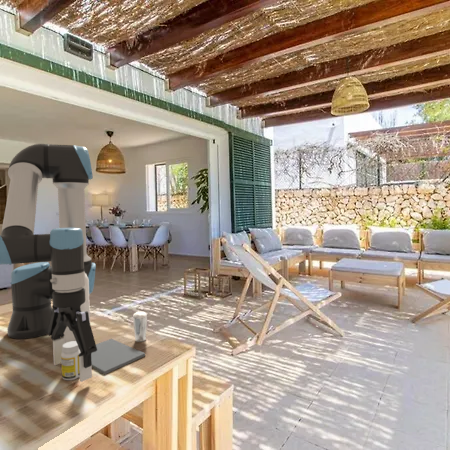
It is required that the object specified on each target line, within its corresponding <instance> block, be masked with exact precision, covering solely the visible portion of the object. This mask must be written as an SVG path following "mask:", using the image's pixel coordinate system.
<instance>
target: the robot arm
mask: <svg viewBox="0 0 450 450" xmlns="http://www.w3.org/2000/svg"><path fill="white" fill-rule="evenodd" d="M90 157H91V156H90V154H89V149H88V148H86V147H85V146H82V145H81V146H79V145H75V144H73V145H72V144H52V143H51V144H49V143H35V144H32V145H29V146H27V147H24V148H22V149H21V150H20V151H19V152H18V153H17V154H15V156H14V157H13V158H12V159H11V161H10V163H9V165H8V170H7V175H8V178H9V180H10V181H9V186H8V193H7V199H6V204H5V210H4V215H3V220H2V221H3V222H2V226H1V227H2V228H1V234H0V265H8V266H9V265H10V266H11V265H16V264H18V265H19V264H24V265H21V266H19V267H16V268H14V269H13V270H12V271H11V275H10V285H11V286H10V287H11V304H12V313H11V316H10V319H9V322H8V325H7V329H6V330H7V336H8V337H9V338H11V339H19V340H21V339H22V340H23V339H32V338H36V337H37V338H38V337H41V336H44V335H47V336H49V337H50V339H51V340H52V350H53V351H52V353H53V354H52V356H53V357H52V359H53V365H54V366H57V365H60V364H61V354H62V352H63V351H62V346H63V344H65V343H64V336H65V335H64V331H65V329H66V327H67V326H68V327H69V330H70V331H72V332H73V334H74V337H75V339H76V342H77V344H78V347H79V350H80V352H81V353H80V354H79V355H78V356H79V371H80V377H79V381H80V383H81V382H85V381H87V380H89V379H91V378H93V368H92V362H91V353H93V352H96V351H97V347H96V344H97V343H96V340H95V337H94V333H93V329H92V326H91V321H90V322H89V314H88V311H85V312H81V308H80V306H81V305H82V304H83V303H84V302H85V289H84V288H83V287H84V286H85V273H86V275H87V277H88V279H89V295H91V294H92V293H93V291H94V288H95V280H96V267H97V265H96V263H95V262H92V257H90V256H89V255H88V253H87V252H88V251H87V227H86V225H87V224H86V204H85V202H86V201H85V197H86V196H85V195H86V194H85V189H86V188H87V187H88V186H89V184H90V183H89V180H92V179H93V169H92V163H91V158H90ZM43 179H52V184H53V186H54V187H56V188H57V197H58V198H57V200H58V202H57V203H58V221H59V222H58V224H59V225H58V226H59V227H57V228H53V229H51V230H50V233H41V234H40V233H39V234H34V233H35V226H36V225H35V223H36V213H37V212H36V211H37V204H38V203H37V201H38V193H39V192H38V191H39V190H38V189H39V184H40V183H41V182H42V180H43ZM50 262H51V263H50Z"/></svg>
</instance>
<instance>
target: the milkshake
mask: <svg viewBox="0 0 450 450" xmlns="http://www.w3.org/2000/svg"><path fill="white" fill-rule="evenodd" d="M149 311H150V309H148V310H147V312H145V311H137V312H134V313H133V314H132V320H133V329H134V330H133V331H134V332H133V333H134V338H135V339H134V340H135V342H137V343H138V342H139V343H141V342H144V341H146V340H147V324H148V323H147V322H148V314H149Z"/></svg>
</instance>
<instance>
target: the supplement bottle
mask: <svg viewBox="0 0 450 450" xmlns="http://www.w3.org/2000/svg"><path fill="white" fill-rule="evenodd" d="M62 351H63V352H62V354H61V363H60V364H61V378H62V379H63V380H64V381H73V380H76V379H78V378H80V371H79V356H78V355H79V354H80V353H81V352H80V350H79V347H78V344H77V342H76V341H71V342H67V343H64V344H63V346H62Z"/></svg>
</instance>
